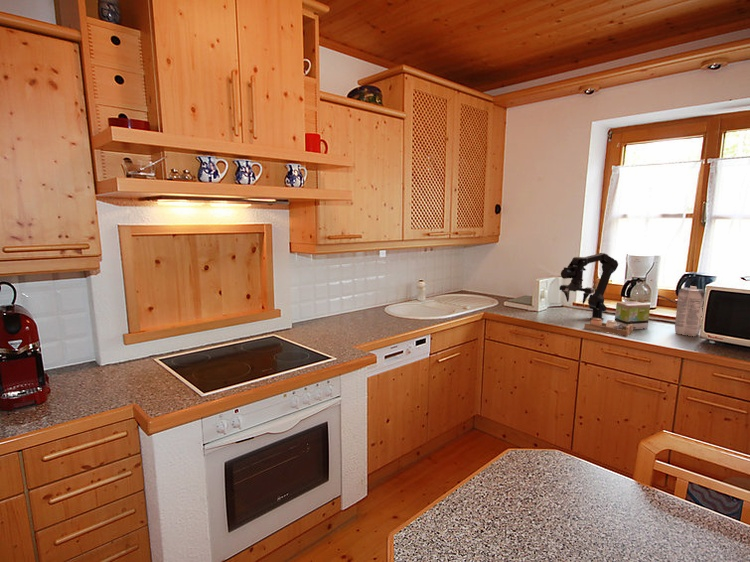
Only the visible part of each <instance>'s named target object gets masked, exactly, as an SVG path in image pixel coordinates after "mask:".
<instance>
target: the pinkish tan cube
mask: <svg viewBox="0 0 750 562" xmlns="http://www.w3.org/2000/svg"><path fill="white" fill-rule="evenodd" d="M590 321H591V324H592V325H598V326H602V323H603V320H601V319H600V318H593V319H591V320H590Z"/></svg>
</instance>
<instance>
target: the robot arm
mask: <svg viewBox="0 0 750 562" xmlns="http://www.w3.org/2000/svg"><path fill="white" fill-rule="evenodd" d="M597 262H599V263H600V264H601V270H602V271H601V274H600V277H599V281H598V284H597V287H596V289H595V288H594V287H588V286H587V287H585V288H584V287H583V281H584V279H583V277H584V276H583V275H584V274H583V273H584V271H587V269H586V268H585V267H586V266H587V265H588V264H592V263H597ZM618 266H619V263H618V260H617V259H615V258H613V257H611V256H609V255H608V254H607V253H605V252H599V253H596V254H593V255H588V256H575V257H572V260H571V261H570V263H569V264H568V265H567V267H566V266H565V267H563V269H562V270H561V272H560V276H561V278H562V279H563V280H566V279H571V280H570V283H568V284H560V285H559V291H561V292H562V293H564V295H565V298H566V302H569V301H570V292H571V291H572V292H578V291H579V292H583V295H582V296H583V298H582V305H584V304H585V302H586V300H587V299H588V300H587V301H588V302H587V304H588V306H589V309H591V310H592V313H591V317H590V318H589V320H592V319H593V318H600V319H601V320H602V321H603V320H604V319H605V318H604V317H603V313H604V312H606V311H607V309H608V307H607V305H605V298H604V296H605V292H606V290H607V287H608V285H609V281H610V279H611V275H612V274H613V273H615V271H616V270H617V269H618Z"/></svg>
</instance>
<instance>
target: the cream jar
mask: <svg viewBox="0 0 750 562" xmlns="http://www.w3.org/2000/svg"><path fill="white" fill-rule="evenodd" d="M605 323H606V327H610V328H616V325H617V322H616V321H615V320H613V319H612V320H610V319H608V320H607V321H606V322H605Z"/></svg>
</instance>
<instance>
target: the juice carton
mask: <svg viewBox="0 0 750 562" xmlns="http://www.w3.org/2000/svg"><path fill="white" fill-rule="evenodd" d="M689 286H690V287H682V288H680V289H679V290H678V296H677V304H676V314H675V321H674V322H675V323H674V330H675V334H676V333H677V335H681V334H682V335H683V336H687V335H688V336H687V337H692V336H693V337H696V336H698V335H699V333H700V332H701V328H700V325H701V326H702V320H701V316H702V317H703V312H702V308H703V309H704V303H703V301H705V289H701V288H697V286H693V285H689ZM682 335H681V336H682ZM693 337H692V338H693Z"/></svg>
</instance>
